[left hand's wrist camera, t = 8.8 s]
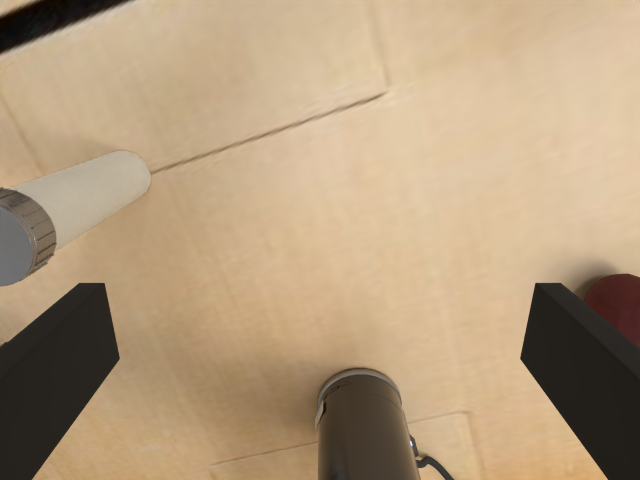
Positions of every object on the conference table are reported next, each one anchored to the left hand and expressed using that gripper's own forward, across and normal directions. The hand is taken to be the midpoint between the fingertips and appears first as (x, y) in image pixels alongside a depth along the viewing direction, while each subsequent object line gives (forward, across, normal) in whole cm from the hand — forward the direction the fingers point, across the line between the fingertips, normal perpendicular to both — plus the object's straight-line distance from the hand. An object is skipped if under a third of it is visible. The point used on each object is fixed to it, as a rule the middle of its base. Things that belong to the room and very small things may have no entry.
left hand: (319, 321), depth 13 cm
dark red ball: (+27, +29, -13) cm, 42 cm away
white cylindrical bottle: (+27, -18, -1) cm, 32 cm away
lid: (+10, -18, -1) cm, 20 cm away
